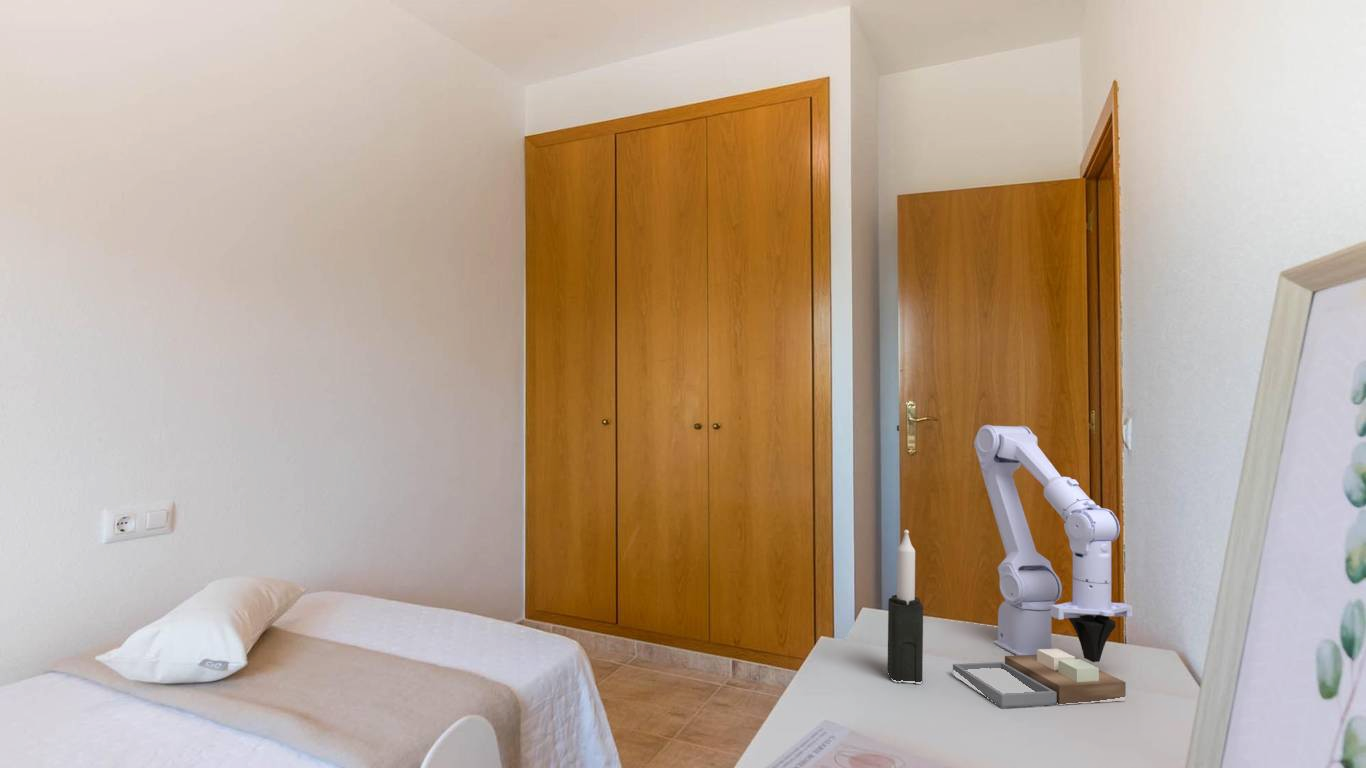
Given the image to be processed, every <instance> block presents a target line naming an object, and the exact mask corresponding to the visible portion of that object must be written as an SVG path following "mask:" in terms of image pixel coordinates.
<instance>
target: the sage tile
mask: <svg viewBox="0 0 1366 768" xmlns="http://www.w3.org/2000/svg"><path fill="white" fill-rule="evenodd" d="M1099 670H1100V669H1099V667H1097V666H1096V665H1093V664H1091V663H1089V662H1087V661H1084V660H1082V659H1081V658H1076V659H1071V660H1058V672H1059V673H1061V674H1062V675H1064V676H1066V677H1068V678H1070V679H1072V680H1074V681H1076V682H1087V681H1099Z"/></svg>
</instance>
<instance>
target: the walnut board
mask: <svg viewBox="0 0 1366 768" xmlns="http://www.w3.org/2000/svg"><path fill="white" fill-rule="evenodd" d="M1075 659H1077V658H1076V657H1075ZM1004 663H1005V664H1007V665H1009V666H1010V667H1012V668H1014V669H1016V670H1018V671H1019V672H1021V673H1023V674H1025V675H1026V676H1028V677H1030V678H1032V679H1034V680H1035V681H1037V682H1039V683H1041V684H1042V685H1044V686H1046V687H1048V688H1050V689H1051V690H1053V691H1055V692H1057V703H1058V704H1066V703H1078V702H1091V701H1100V700H1107V699H1115V698H1120V697H1125V696H1126V695H1127V694H1126V692H1127V691H1126V690H1127V689H1126V682H1127V681H1123V680H1122V679H1119V678H1118V677H1116V676H1114V675H1111V674H1109V673H1107V672H1105V671H1103V670H1100V669H1099V681H1087V682H1076V681H1074V680H1072V679H1070V678H1068V677H1066V676H1064V675H1062V674H1061V673H1059V672H1058V670H1053V669H1051V668H1049V667H1047V666H1045V665H1043V664H1041V663H1039V662H1037V655H1016V654H1014V655H1004ZM1058 704H1057V705H1058Z"/></svg>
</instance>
